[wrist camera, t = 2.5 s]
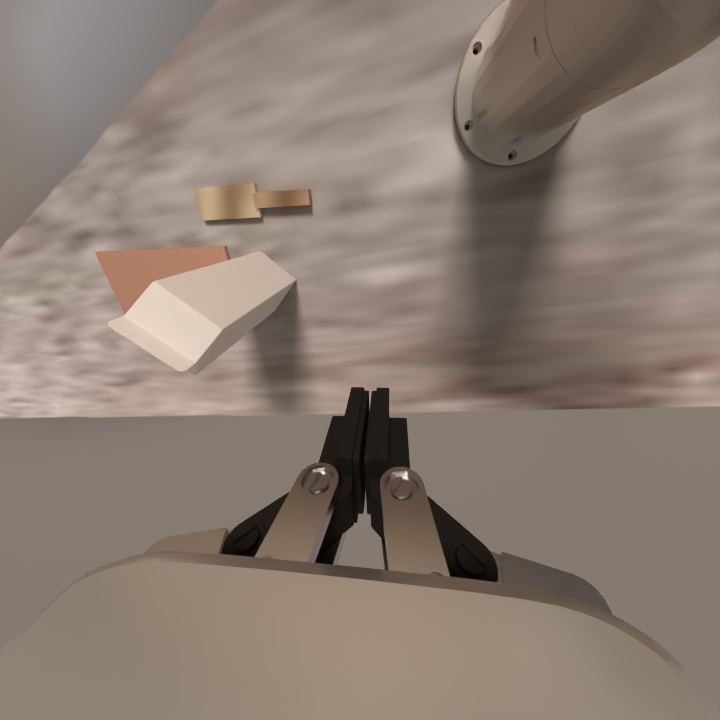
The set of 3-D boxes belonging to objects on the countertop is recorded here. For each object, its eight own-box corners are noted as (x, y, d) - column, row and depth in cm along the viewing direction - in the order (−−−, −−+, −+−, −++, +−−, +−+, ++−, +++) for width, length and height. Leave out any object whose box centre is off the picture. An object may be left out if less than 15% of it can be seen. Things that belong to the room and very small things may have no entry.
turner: (206, 220, 36) (201, 220, 35) (197, 188, 34) (191, 187, 33) (313, 214, 34) (310, 214, 33) (309, 180, 32) (306, 179, 31)
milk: (261, 250, 37) (113, 288, 17) (297, 280, 38) (198, 345, 19) (241, 284, 39) (93, 350, 20) (276, 311, 41) (169, 397, 21)
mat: (98, 251, 39) (95, 252, 39) (226, 245, 37) (223, 246, 36) (130, 316, 44) (126, 318, 43) (244, 315, 42) (242, 317, 41)
